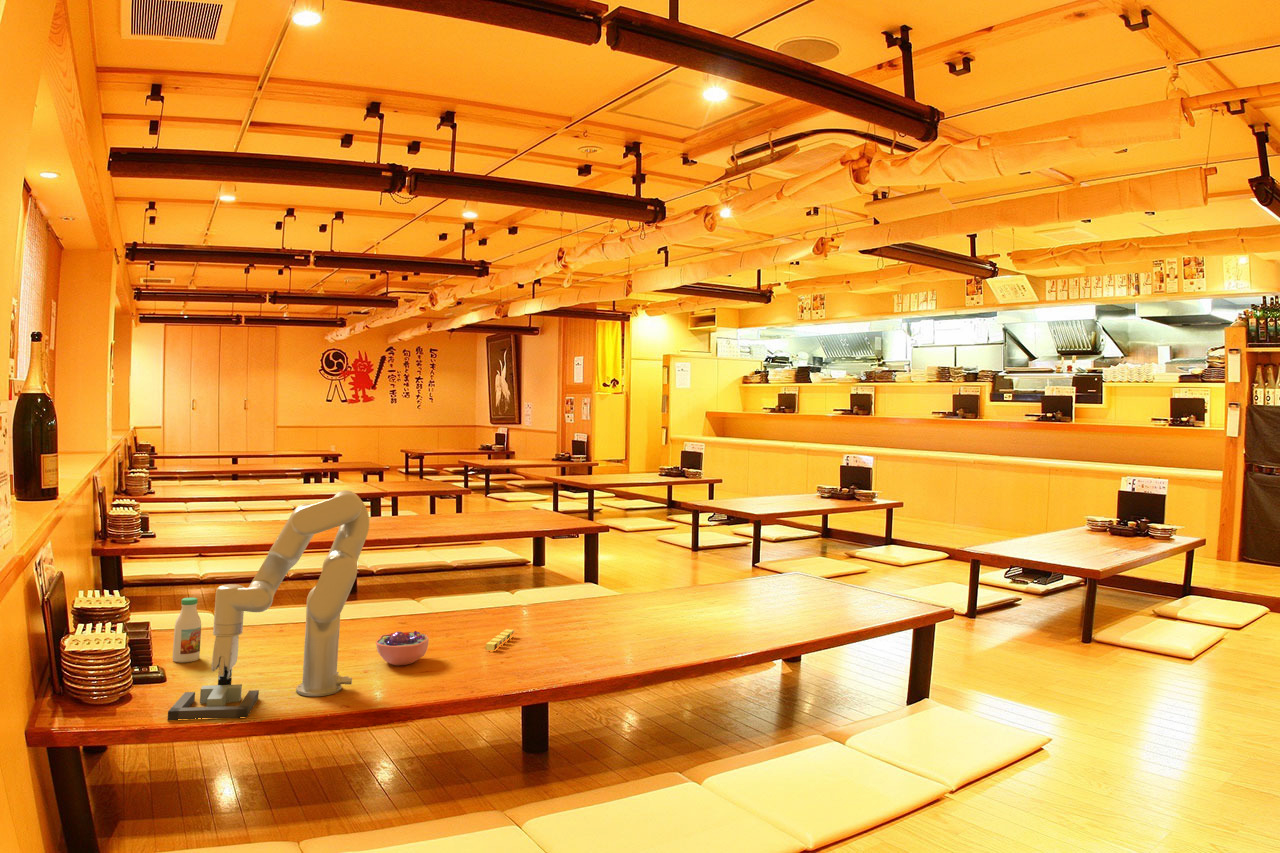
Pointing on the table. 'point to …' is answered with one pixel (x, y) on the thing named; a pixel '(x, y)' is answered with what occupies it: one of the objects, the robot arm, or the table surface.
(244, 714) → the corral
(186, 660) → the milk bottle
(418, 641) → the cell model
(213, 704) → the t block
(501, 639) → the yellow segmented bar
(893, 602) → the table surface
